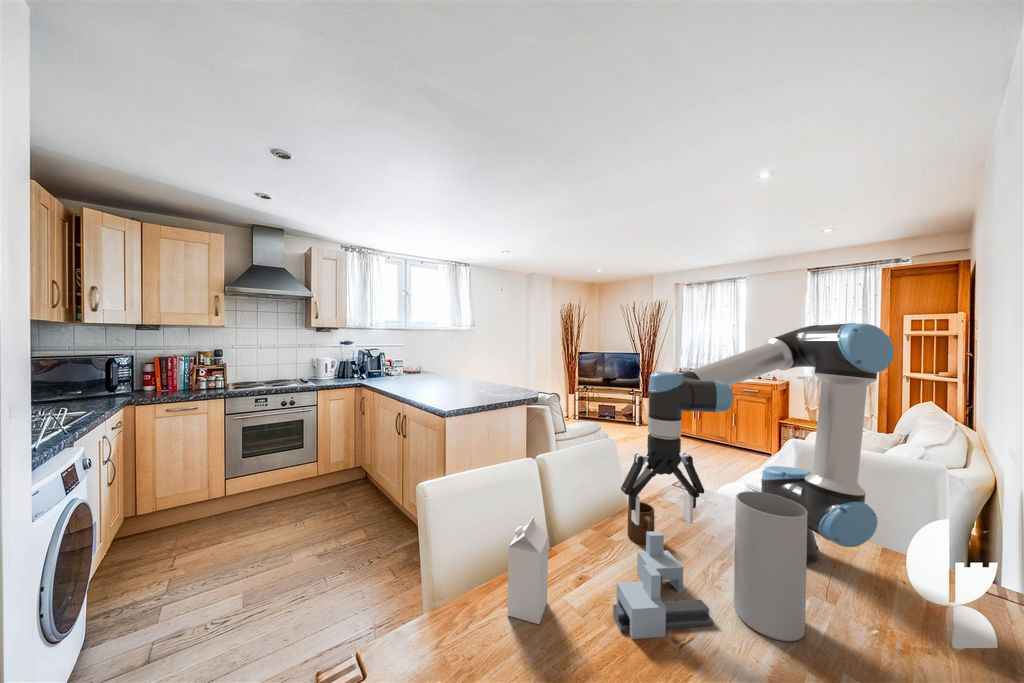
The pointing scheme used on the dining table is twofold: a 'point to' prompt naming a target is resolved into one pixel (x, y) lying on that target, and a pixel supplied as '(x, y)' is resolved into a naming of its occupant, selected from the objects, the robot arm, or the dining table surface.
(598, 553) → the dining table surface
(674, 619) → the rail
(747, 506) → the cylinder vase
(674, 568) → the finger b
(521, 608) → the milk carton
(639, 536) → the mug
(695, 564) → the dining table surface
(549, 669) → the dining table surface
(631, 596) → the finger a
